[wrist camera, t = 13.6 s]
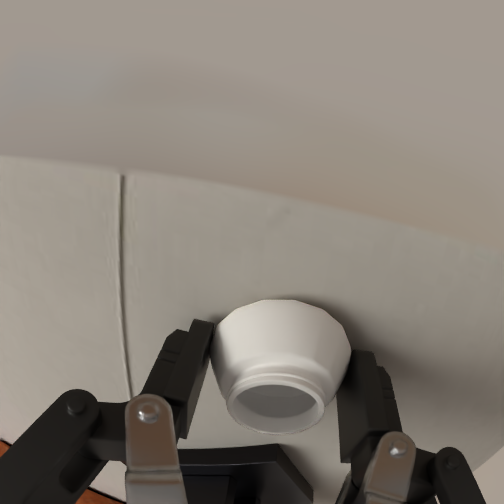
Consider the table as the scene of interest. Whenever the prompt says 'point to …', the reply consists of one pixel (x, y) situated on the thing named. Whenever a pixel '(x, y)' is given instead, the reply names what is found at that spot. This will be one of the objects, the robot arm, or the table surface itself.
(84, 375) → the table surface
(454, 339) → the table surface
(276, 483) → the bracket
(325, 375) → the white jar
